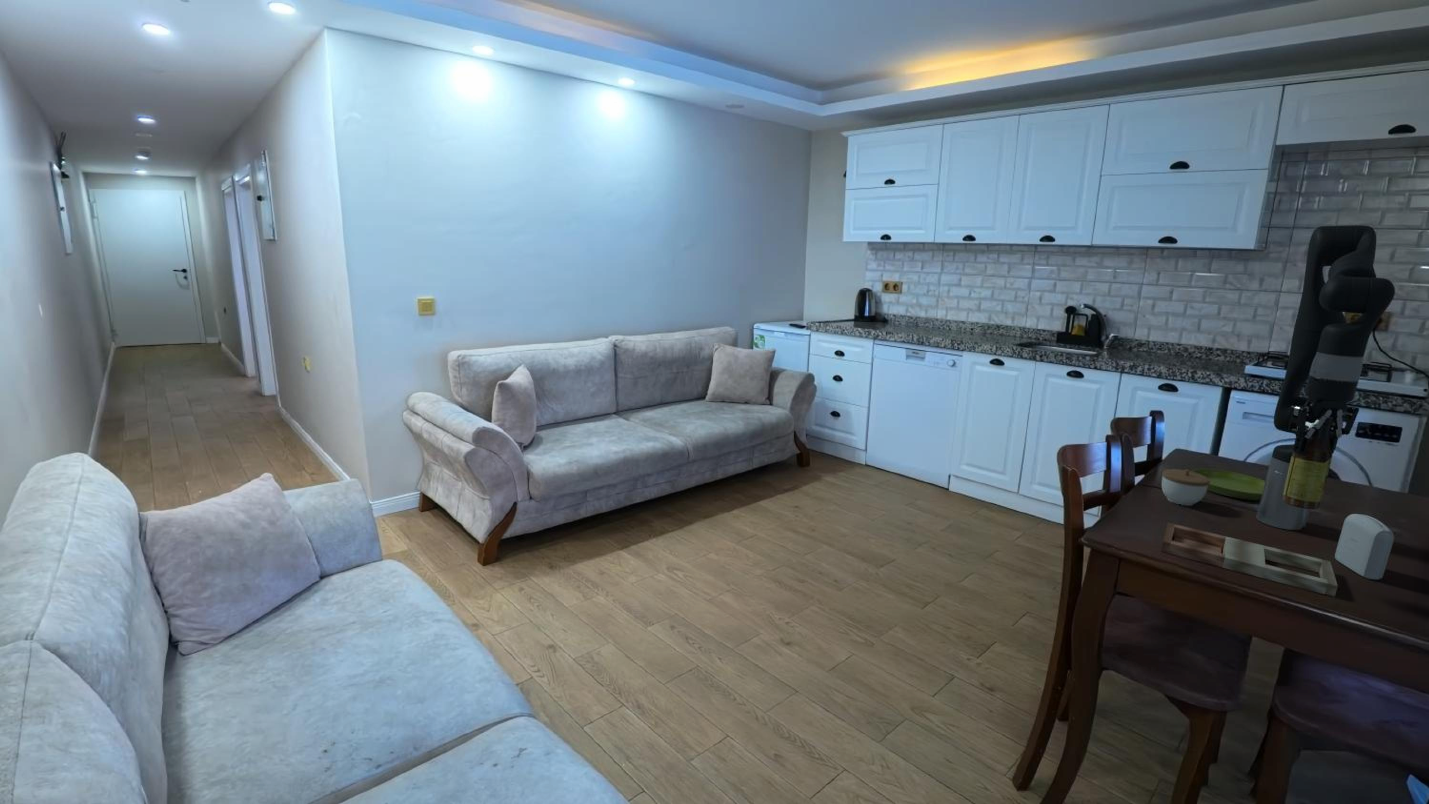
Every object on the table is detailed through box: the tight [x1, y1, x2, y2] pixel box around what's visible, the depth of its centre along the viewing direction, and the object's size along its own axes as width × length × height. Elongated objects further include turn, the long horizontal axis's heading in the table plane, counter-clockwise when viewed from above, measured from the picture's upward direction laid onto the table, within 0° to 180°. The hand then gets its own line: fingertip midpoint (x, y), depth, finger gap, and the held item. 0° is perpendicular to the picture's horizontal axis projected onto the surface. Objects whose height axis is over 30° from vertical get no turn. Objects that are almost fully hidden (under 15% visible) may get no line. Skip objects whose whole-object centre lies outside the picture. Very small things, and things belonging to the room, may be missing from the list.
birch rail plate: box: [1160, 522, 1339, 598], centre depth 148 cm, size 30×14×2 cm, turn 52°
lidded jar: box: [1161, 468, 1210, 507], centre depth 182 cm, size 11×11×9 cm
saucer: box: [1190, 468, 1266, 501], centre depth 193 cm, size 21×21×3 cm
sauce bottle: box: [1283, 417, 1334, 510], centre depth 138 cm, size 6×6×20 cm
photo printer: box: [1334, 513, 1395, 581], centre depth 145 cm, size 10×4×12 cm, turn 168°
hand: (1312, 453), depth 138 cm, fingers closed on sauce bottle, 6 cm apart
